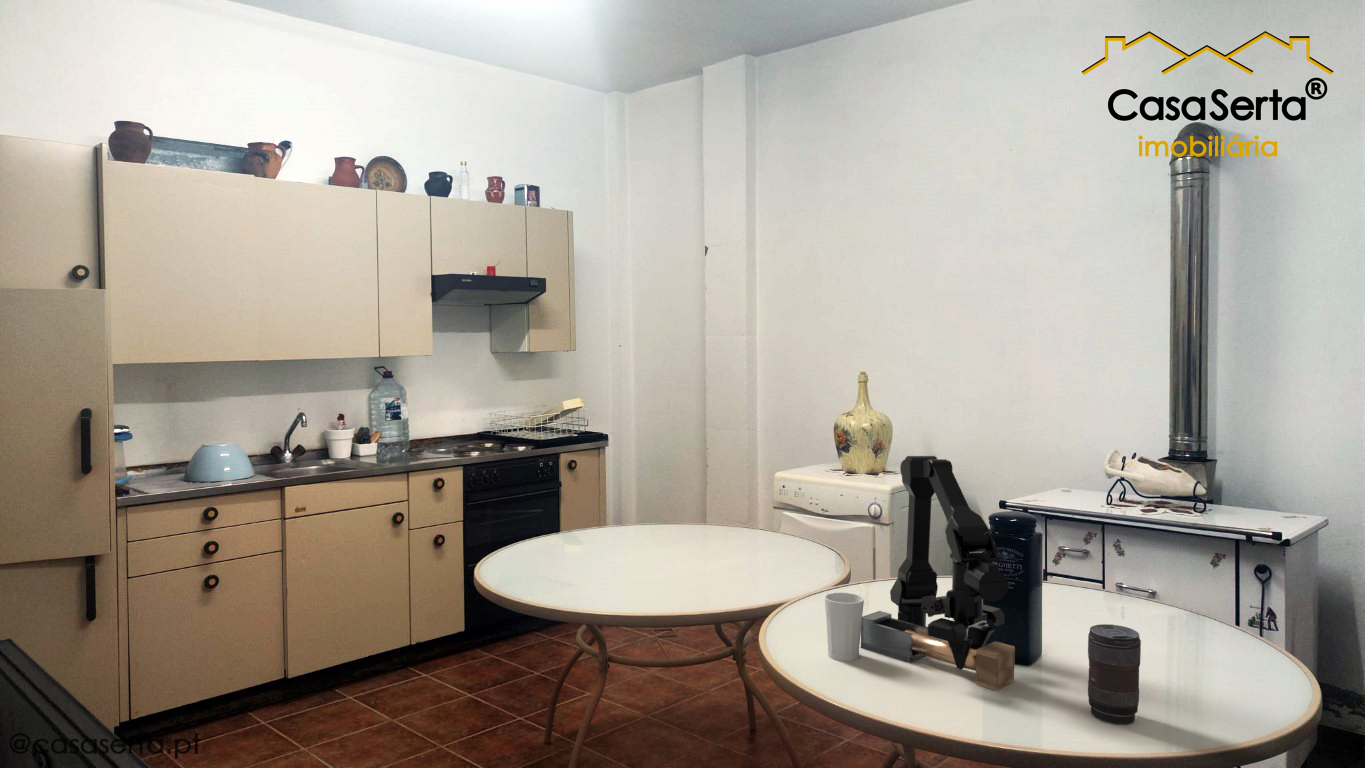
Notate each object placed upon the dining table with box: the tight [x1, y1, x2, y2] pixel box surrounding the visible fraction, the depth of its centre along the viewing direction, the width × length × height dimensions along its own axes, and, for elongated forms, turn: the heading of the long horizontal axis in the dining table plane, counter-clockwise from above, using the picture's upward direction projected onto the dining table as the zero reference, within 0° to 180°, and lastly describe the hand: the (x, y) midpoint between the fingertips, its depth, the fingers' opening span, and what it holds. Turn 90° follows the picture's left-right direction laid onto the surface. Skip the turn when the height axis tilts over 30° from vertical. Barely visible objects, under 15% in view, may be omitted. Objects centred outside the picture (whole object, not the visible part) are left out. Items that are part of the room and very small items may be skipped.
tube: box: [904, 630, 976, 672], centre depth 172 cm, size 19×4×4 cm, turn 42°
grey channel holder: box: [860, 610, 928, 664], centre depth 181 cm, size 12×7×7 cm, turn 42°
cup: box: [824, 592, 865, 662], centre depth 179 cm, size 8×8×12 cm
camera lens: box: [1087, 623, 1142, 725], centre depth 150 cm, size 8×8×15 cm
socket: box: [975, 640, 1016, 691], centre depth 165 cm, size 7×4×7 cm, turn 132°
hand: (965, 666), depth 169 cm, fingers closed on tube, 4 cm apart
